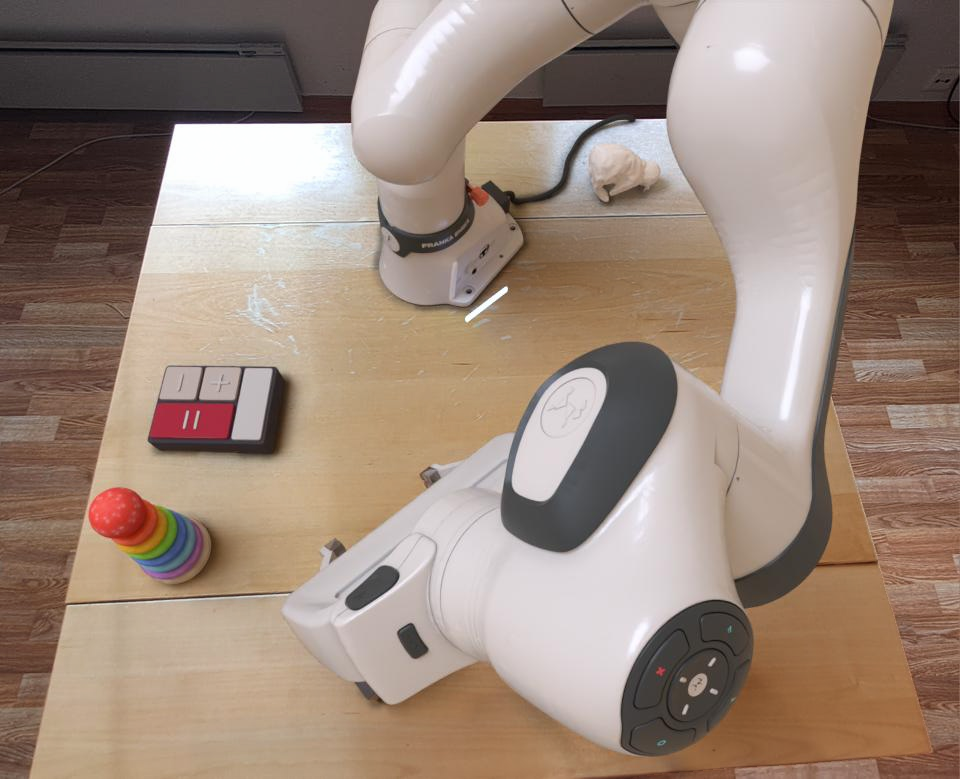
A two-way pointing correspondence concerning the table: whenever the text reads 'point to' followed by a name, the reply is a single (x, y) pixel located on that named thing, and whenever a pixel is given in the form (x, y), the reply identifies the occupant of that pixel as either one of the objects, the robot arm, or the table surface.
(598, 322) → the table surface
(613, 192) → the cream animal figurine
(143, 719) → the table surface
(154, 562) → the stacking toy
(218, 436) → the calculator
